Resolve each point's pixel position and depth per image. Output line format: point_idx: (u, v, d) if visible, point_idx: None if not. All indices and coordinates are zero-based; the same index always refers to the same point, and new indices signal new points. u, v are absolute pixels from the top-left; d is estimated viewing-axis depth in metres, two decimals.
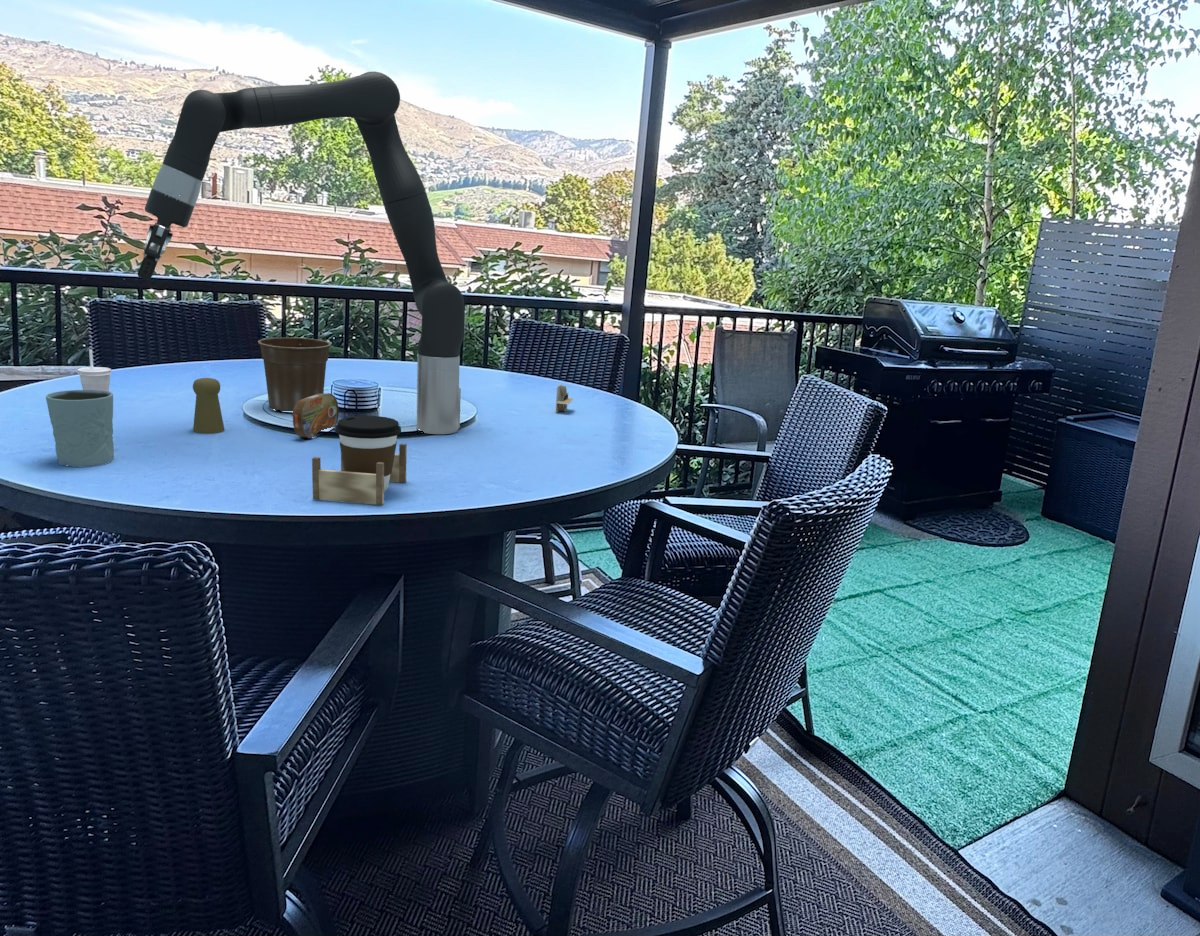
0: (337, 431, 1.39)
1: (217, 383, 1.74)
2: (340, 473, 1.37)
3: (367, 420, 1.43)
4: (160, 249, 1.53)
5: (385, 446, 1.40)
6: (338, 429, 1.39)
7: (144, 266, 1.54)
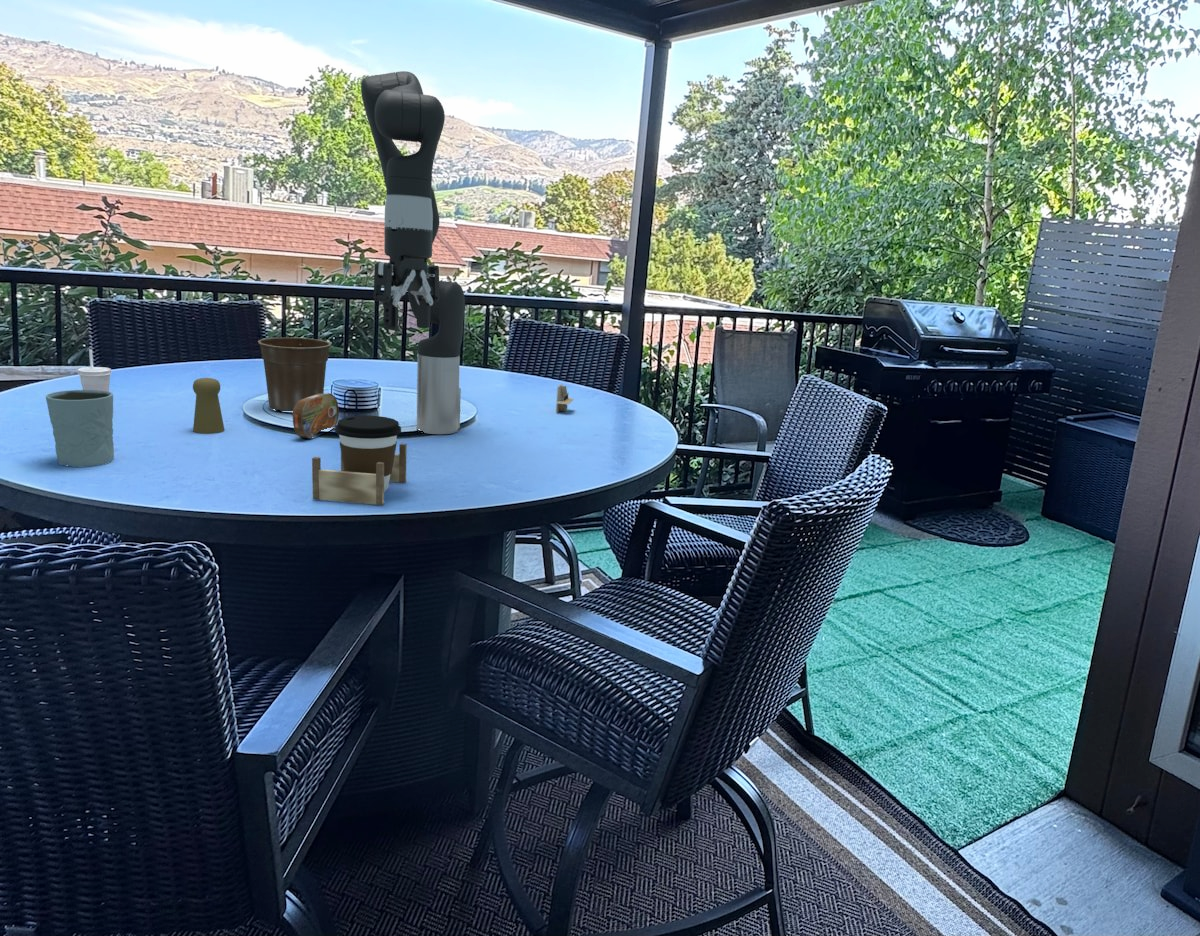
0: (337, 431, 1.39)
1: (217, 383, 1.74)
2: (340, 473, 1.37)
3: (367, 420, 1.43)
4: None
5: (385, 446, 1.40)
6: (338, 429, 1.39)
7: None
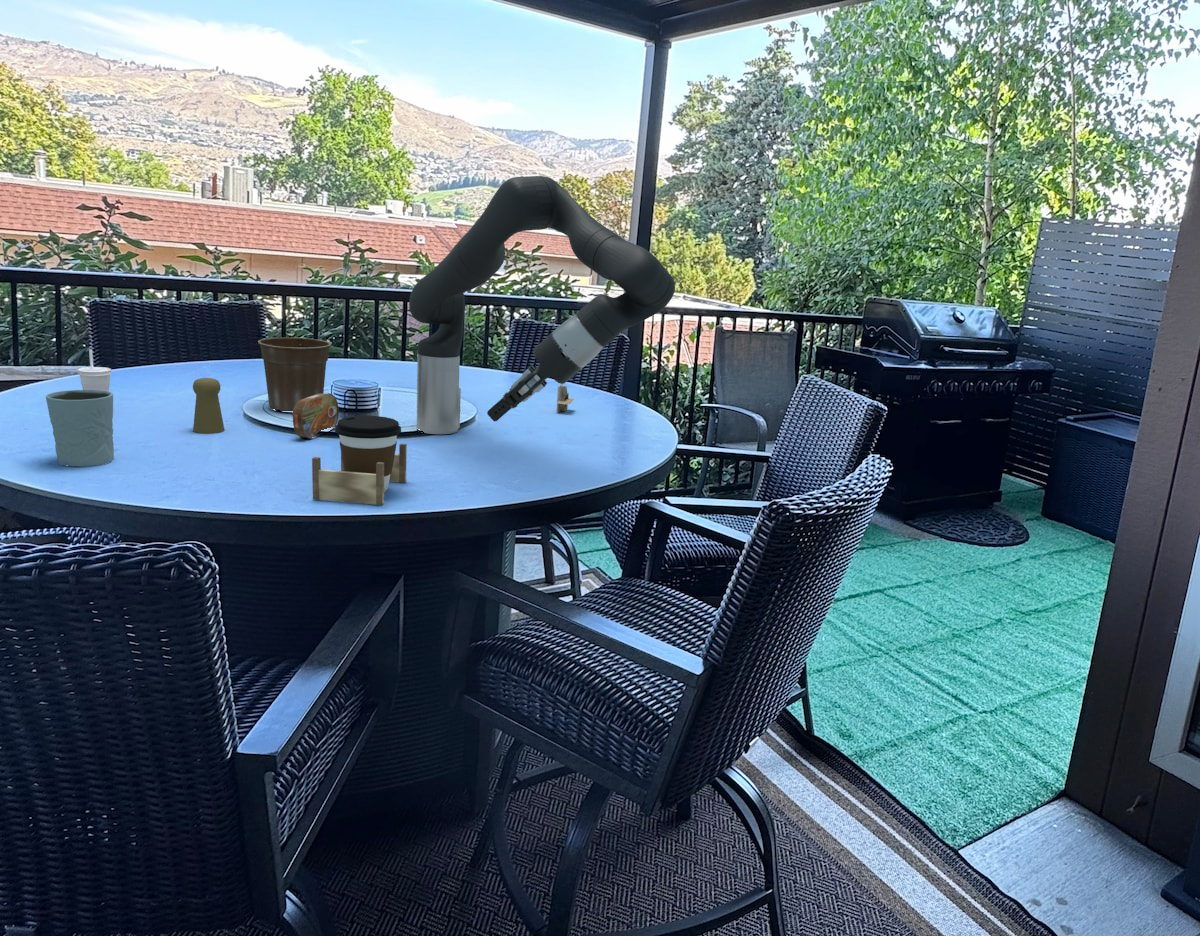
0: (337, 431, 1.39)
1: (217, 383, 1.74)
2: (340, 473, 1.37)
3: (367, 420, 1.43)
4: None
5: (385, 446, 1.40)
6: (338, 429, 1.39)
7: None
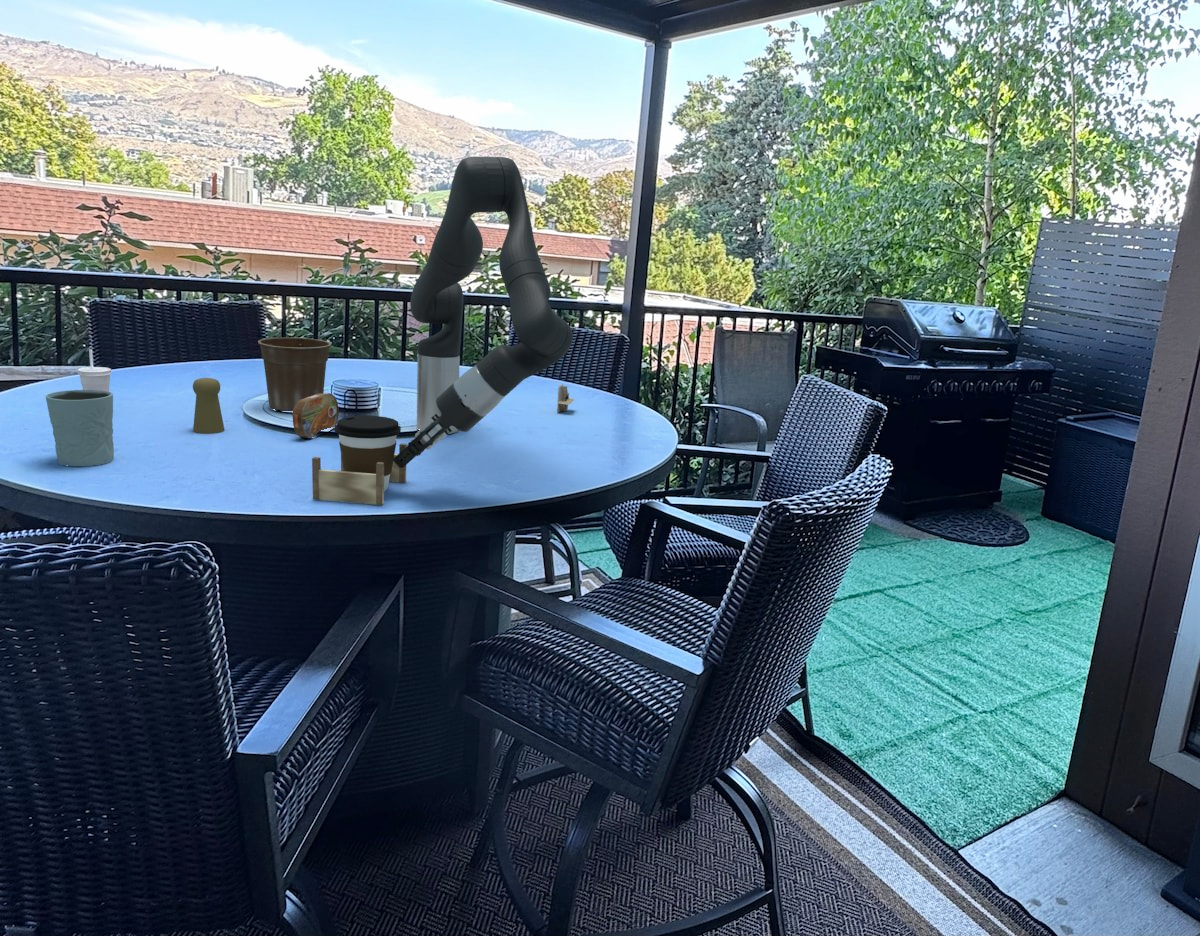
0: (337, 431, 1.39)
1: (217, 383, 1.74)
2: (340, 473, 1.37)
3: (367, 420, 1.43)
4: None
5: (385, 446, 1.40)
6: (338, 429, 1.39)
7: None
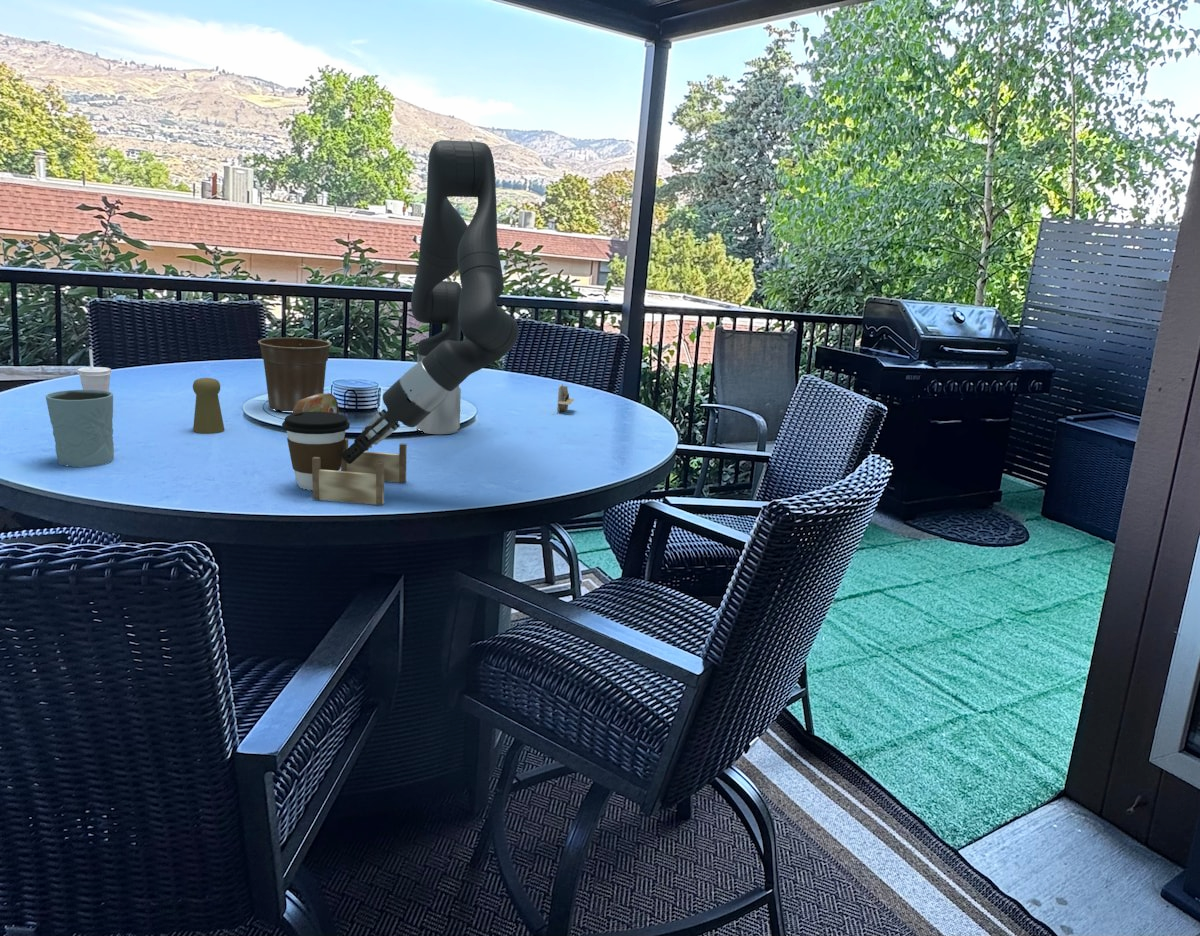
0: (284, 427, 1.40)
1: (217, 383, 1.74)
2: (340, 473, 1.37)
3: (315, 416, 1.43)
4: None
5: (332, 442, 1.41)
6: (285, 425, 1.40)
7: None
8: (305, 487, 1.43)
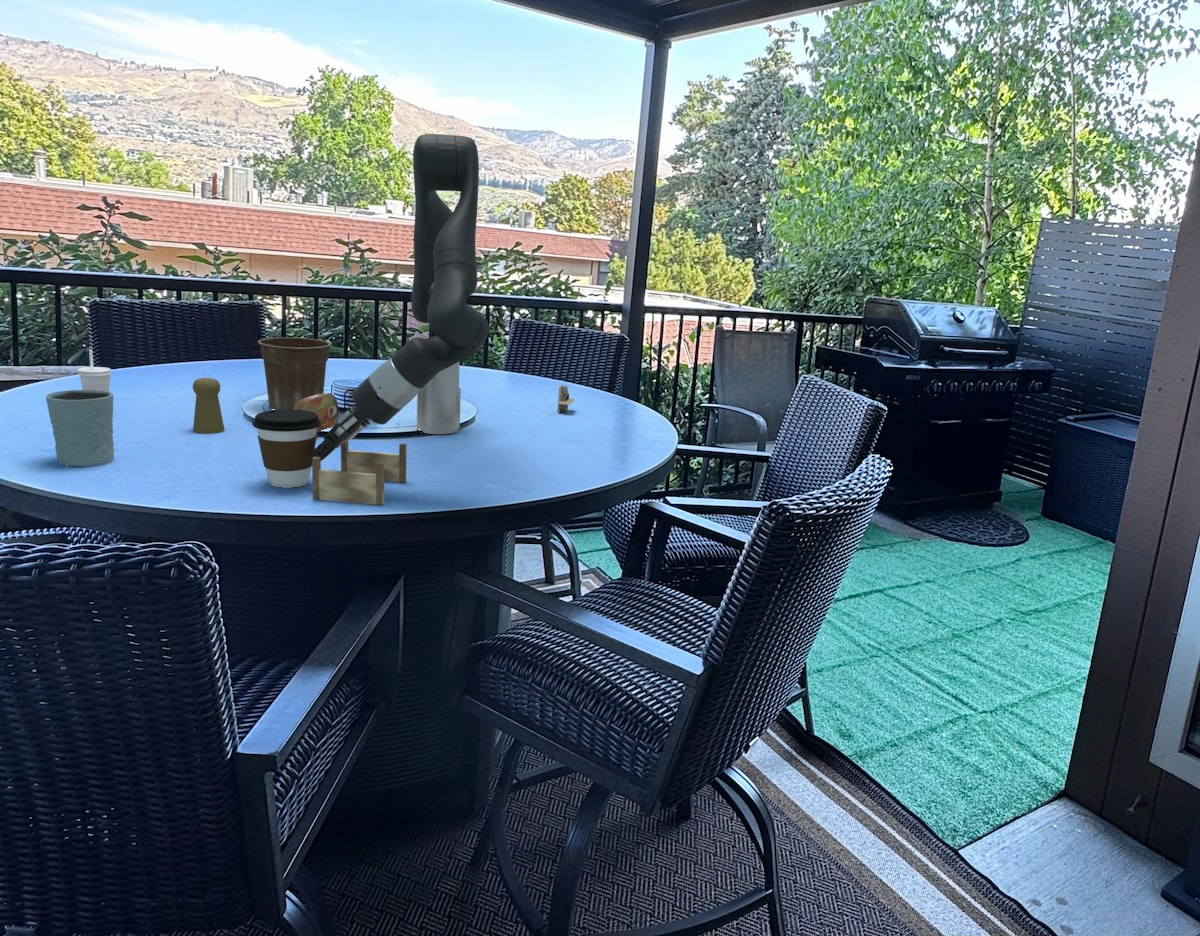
0: (253, 424, 1.40)
1: (217, 383, 1.74)
2: (340, 473, 1.37)
3: (286, 413, 1.44)
4: None
5: (301, 439, 1.41)
6: (255, 422, 1.40)
7: None
8: (275, 484, 1.43)
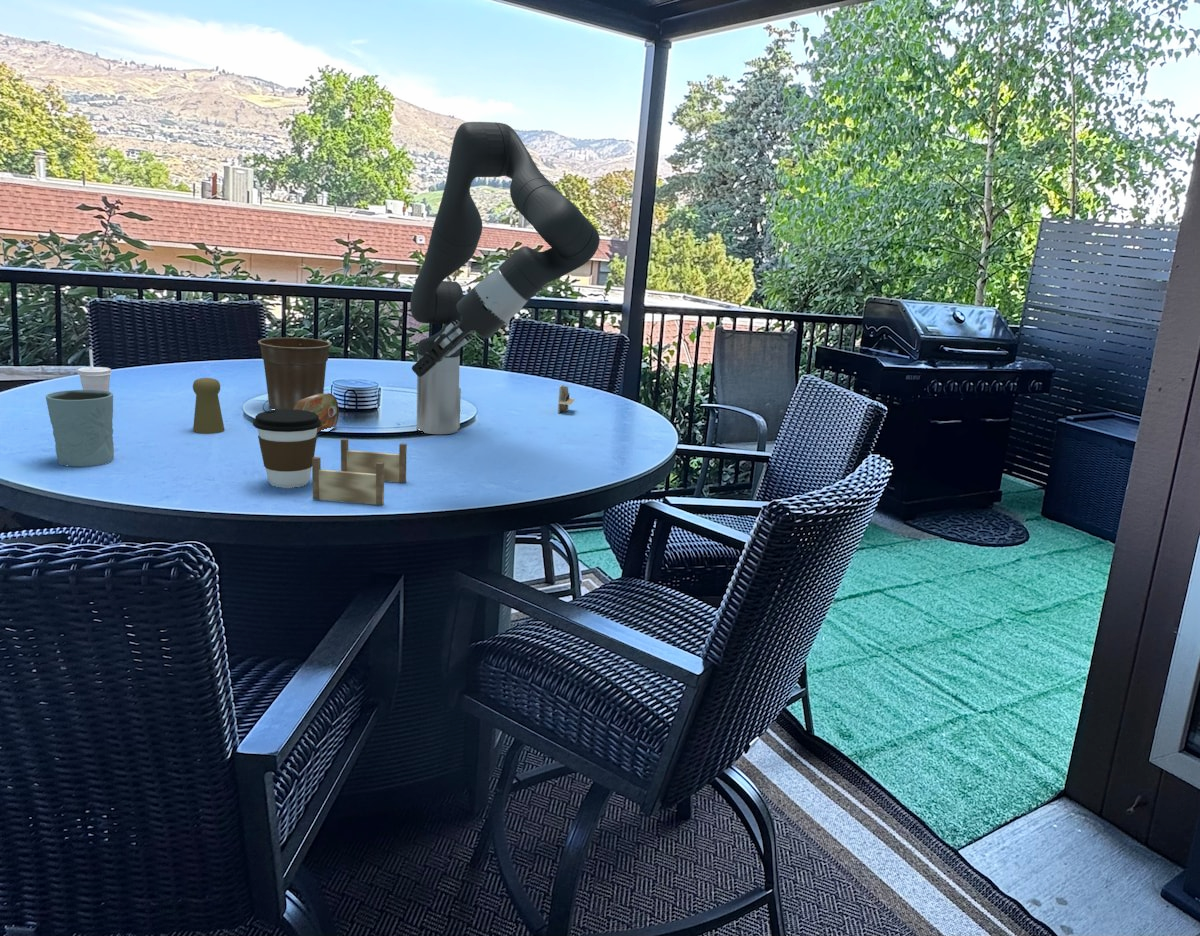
0: (254, 424, 1.40)
1: (217, 383, 1.74)
2: (340, 473, 1.37)
3: (287, 414, 1.44)
4: None
5: (302, 440, 1.41)
6: (255, 422, 1.40)
7: None
8: (276, 485, 1.43)
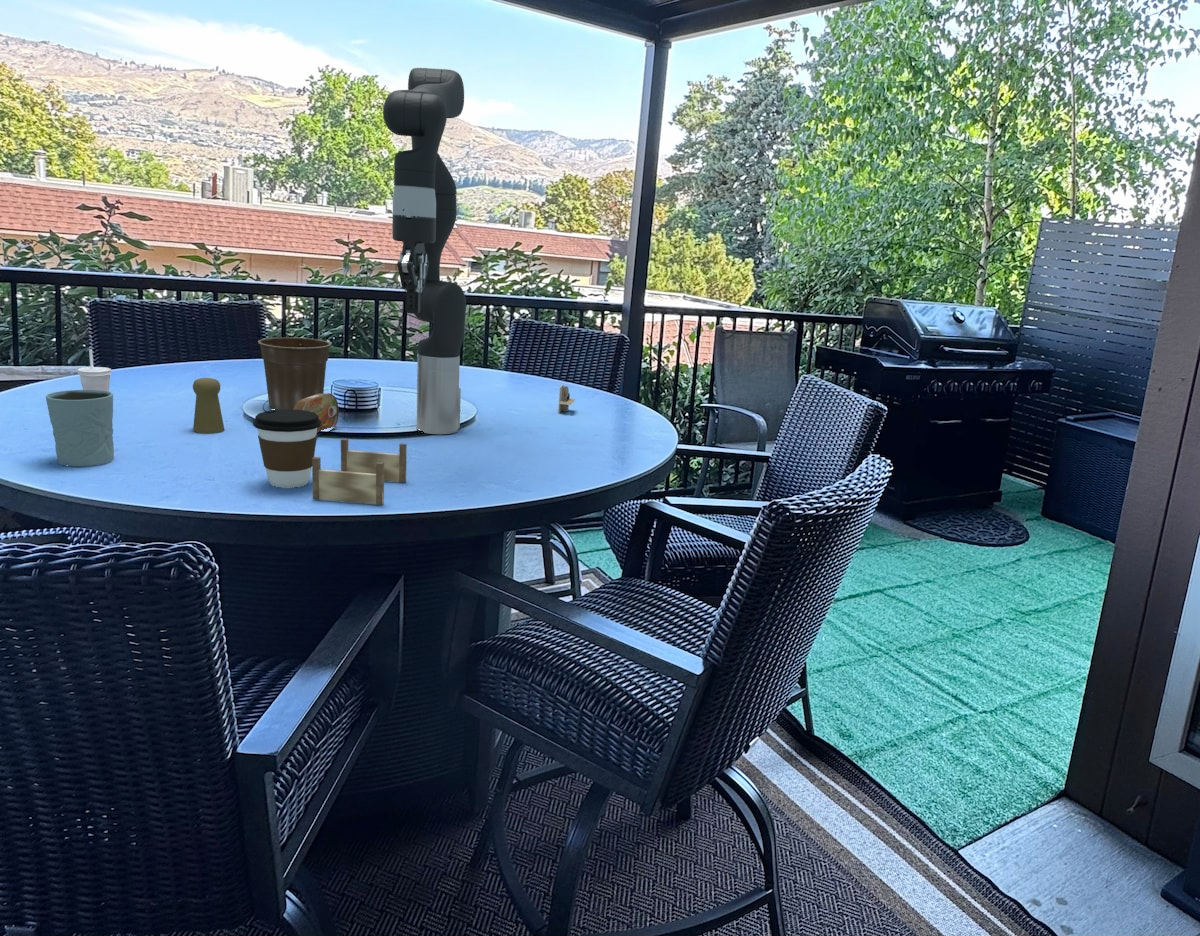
0: (254, 424, 1.40)
1: (217, 383, 1.74)
2: (340, 473, 1.37)
3: (287, 414, 1.44)
4: None
5: (302, 440, 1.41)
6: (255, 422, 1.40)
7: None
8: (276, 485, 1.43)
